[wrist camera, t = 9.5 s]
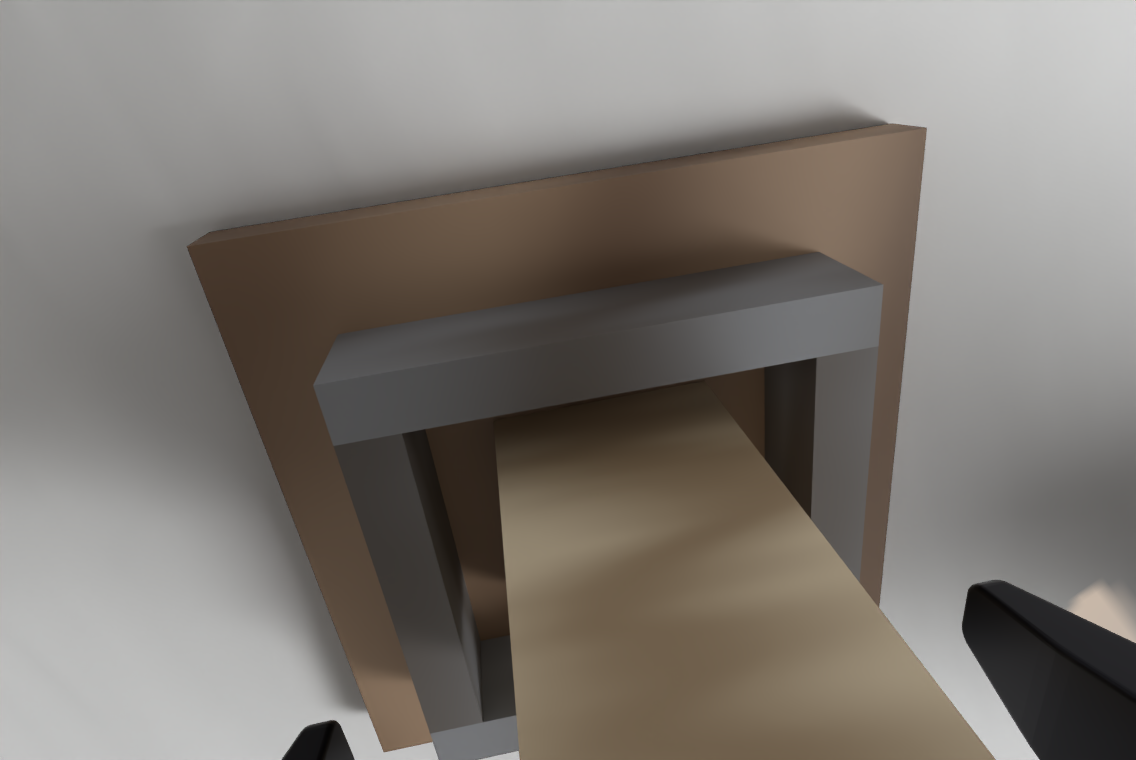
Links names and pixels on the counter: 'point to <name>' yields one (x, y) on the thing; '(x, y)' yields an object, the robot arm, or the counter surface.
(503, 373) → the socket holder
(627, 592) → the maple peg
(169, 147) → the counter surface
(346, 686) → the counter surface
